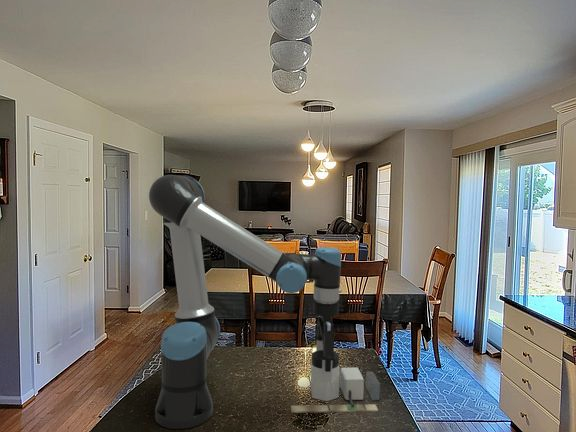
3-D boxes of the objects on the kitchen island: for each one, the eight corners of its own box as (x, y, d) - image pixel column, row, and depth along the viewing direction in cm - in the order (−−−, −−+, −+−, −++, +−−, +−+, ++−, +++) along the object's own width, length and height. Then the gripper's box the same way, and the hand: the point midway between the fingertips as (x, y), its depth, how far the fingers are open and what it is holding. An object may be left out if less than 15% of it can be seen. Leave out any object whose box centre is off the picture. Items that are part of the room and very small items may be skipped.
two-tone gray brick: (372, 400, 122) (373, 383, 121) (366, 387, 130) (366, 371, 129) (379, 400, 122) (379, 383, 121) (372, 387, 130) (372, 371, 129)
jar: (321, 404, 119) (321, 363, 118) (304, 392, 126) (305, 353, 125) (345, 396, 124) (345, 356, 123) (327, 385, 131) (328, 347, 130)
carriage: (347, 408, 117) (348, 387, 116) (339, 386, 129) (340, 367, 129) (367, 407, 117) (367, 386, 116) (357, 386, 129) (357, 367, 129)
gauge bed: (291, 412, 114) (291, 411, 114) (290, 407, 117) (290, 405, 117) (378, 411, 116) (378, 409, 116) (375, 405, 119) (375, 404, 119)
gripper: (347, 313, 111) (343, 391, 112) (332, 290, 136) (329, 354, 137) (319, 313, 110) (315, 390, 112) (309, 289, 135) (306, 353, 137)
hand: (323, 370), depth 124 cm, fingers open, 13 cm apart
